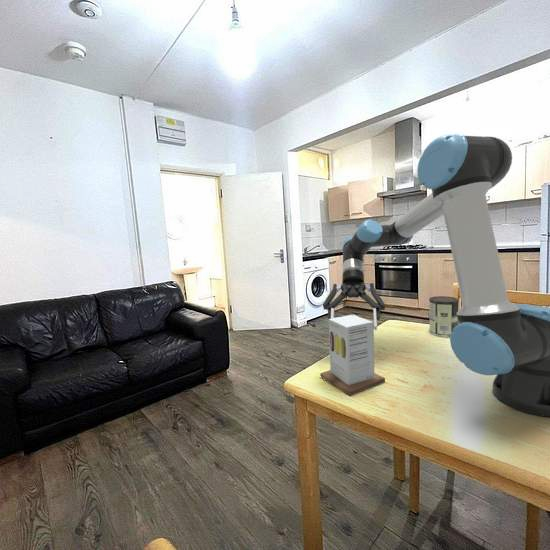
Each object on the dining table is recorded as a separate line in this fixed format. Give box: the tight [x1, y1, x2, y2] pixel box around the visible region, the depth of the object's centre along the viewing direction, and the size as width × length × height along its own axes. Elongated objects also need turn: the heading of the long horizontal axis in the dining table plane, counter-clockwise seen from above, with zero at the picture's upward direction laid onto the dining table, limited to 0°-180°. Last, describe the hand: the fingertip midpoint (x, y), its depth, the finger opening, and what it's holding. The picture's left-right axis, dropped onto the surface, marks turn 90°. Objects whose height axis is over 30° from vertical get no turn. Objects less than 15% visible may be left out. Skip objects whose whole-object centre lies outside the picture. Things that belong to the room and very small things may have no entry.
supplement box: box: [328, 314, 375, 385], centre depth 87 cm, size 10×9×17 cm
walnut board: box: [320, 369, 386, 397], centre depth 88 cm, size 13×13×1 cm
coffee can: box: [428, 295, 460, 338], centre depth 120 cm, size 10×10×14 cm
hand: (353, 328), depth 97 cm, fingers open, 13 cm apart
